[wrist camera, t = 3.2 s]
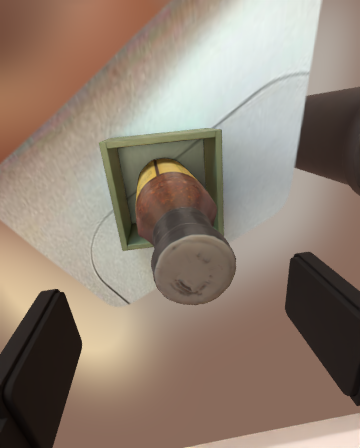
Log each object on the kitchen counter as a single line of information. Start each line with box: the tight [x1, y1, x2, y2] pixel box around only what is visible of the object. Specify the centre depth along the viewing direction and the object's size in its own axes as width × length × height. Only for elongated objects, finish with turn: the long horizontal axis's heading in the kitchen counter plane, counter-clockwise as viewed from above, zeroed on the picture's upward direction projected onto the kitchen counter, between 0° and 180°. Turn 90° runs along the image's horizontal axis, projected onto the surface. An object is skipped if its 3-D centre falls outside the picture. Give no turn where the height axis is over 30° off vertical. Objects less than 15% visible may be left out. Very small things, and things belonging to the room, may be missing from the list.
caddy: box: [99, 128, 224, 251], centre depth 27 cm, size 11×11×6 cm
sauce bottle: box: [135, 158, 236, 305], centre depth 20 cm, size 7×6×20 cm
